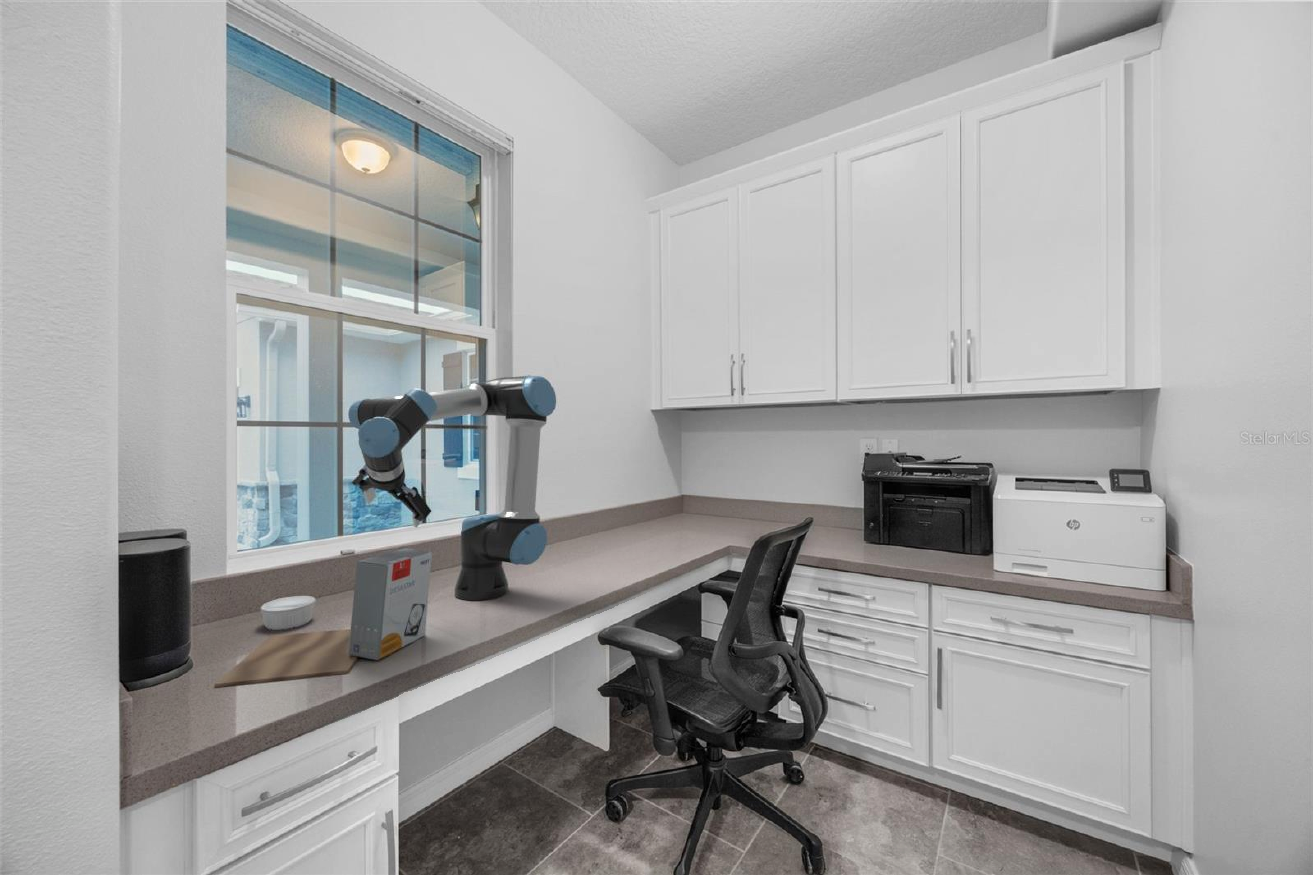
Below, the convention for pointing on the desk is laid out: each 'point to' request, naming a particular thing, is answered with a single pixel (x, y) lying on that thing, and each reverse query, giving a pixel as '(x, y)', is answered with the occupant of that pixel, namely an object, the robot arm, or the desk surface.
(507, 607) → the desk surface
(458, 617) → the desk surface
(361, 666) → the desk surface
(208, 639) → the desk surface
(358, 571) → the hard drive box
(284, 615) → the ramekin
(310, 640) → the walnut board
